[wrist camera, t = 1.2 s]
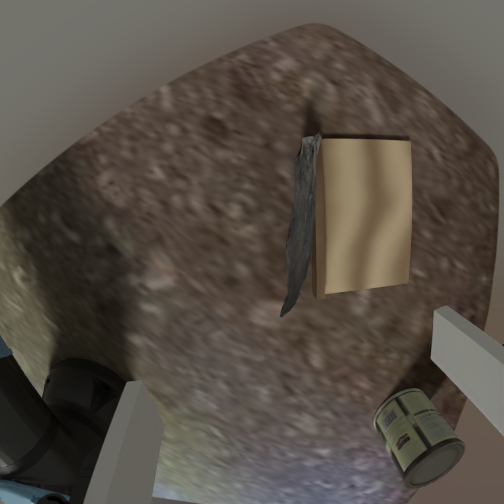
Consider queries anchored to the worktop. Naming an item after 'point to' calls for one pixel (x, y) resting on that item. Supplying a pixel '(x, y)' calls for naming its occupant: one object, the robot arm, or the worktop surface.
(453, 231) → the worktop surface
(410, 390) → the coffee can
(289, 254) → the stone slab
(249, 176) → the worktop surface
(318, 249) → the board
